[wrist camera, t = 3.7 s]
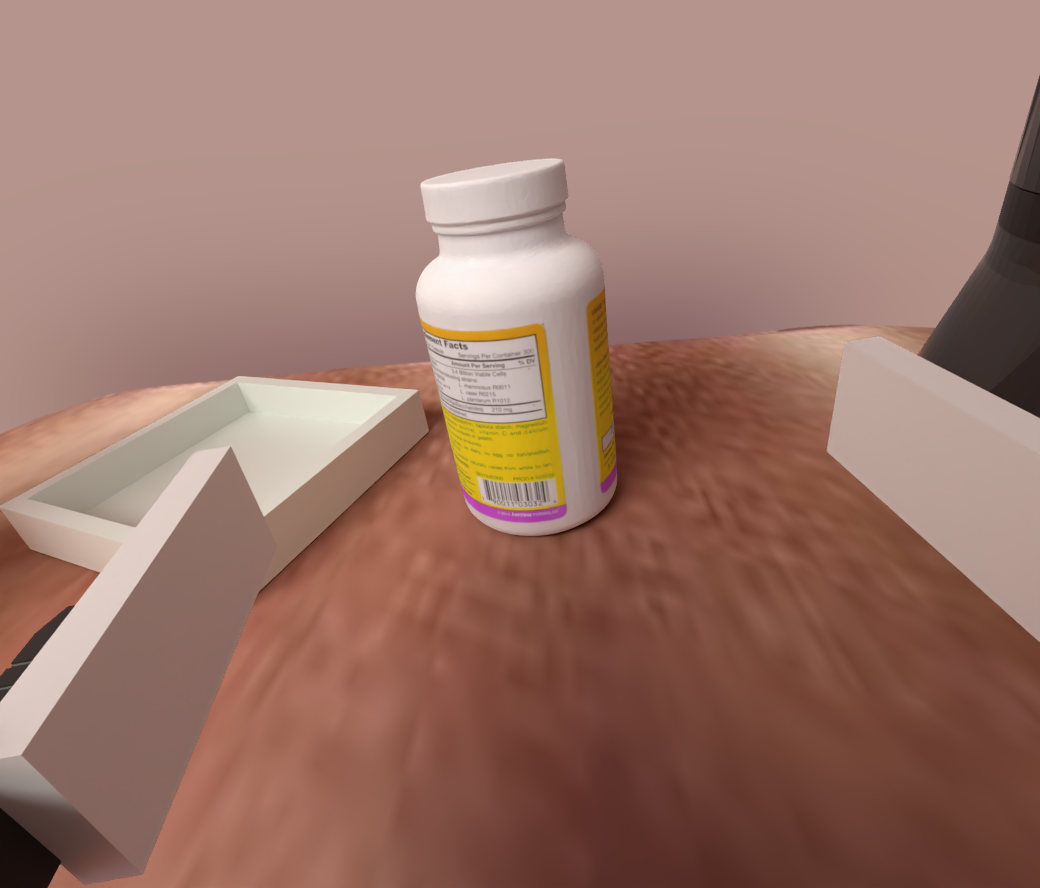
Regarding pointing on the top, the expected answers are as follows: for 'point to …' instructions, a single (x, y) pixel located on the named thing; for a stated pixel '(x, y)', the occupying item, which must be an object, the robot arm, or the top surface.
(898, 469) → the robot arm
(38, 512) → the tray
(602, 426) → the supplement bottle
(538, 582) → the top surface
